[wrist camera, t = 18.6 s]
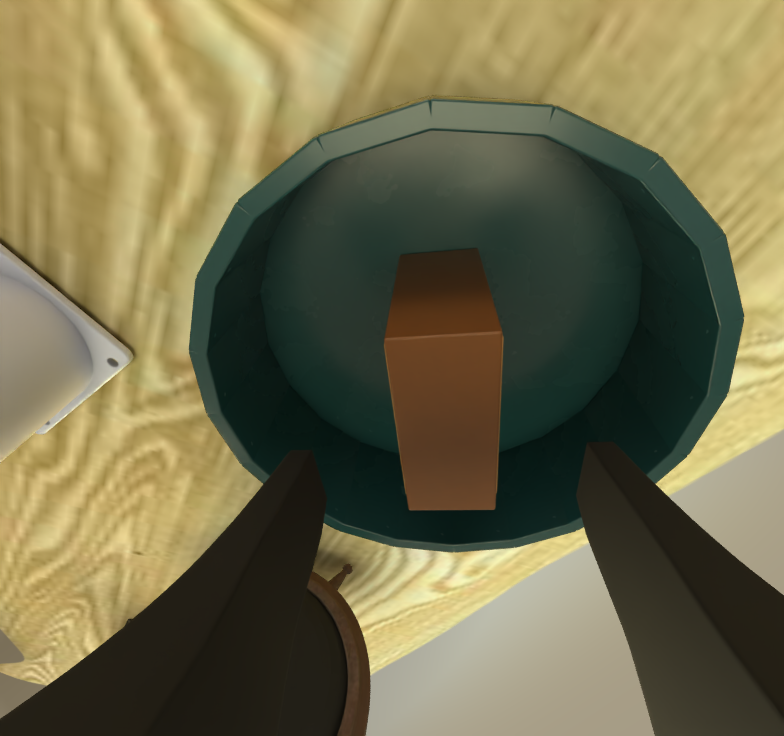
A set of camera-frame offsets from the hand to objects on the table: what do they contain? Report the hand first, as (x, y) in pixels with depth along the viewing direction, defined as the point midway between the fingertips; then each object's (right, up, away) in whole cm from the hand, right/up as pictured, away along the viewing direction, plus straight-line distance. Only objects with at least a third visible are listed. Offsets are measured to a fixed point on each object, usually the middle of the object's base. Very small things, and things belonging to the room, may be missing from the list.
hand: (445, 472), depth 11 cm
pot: (+1, +5, +7) cm, 8 cm away
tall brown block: (+1, +4, +6) cm, 8 cm away
